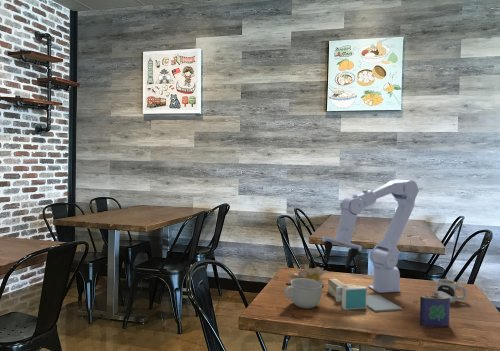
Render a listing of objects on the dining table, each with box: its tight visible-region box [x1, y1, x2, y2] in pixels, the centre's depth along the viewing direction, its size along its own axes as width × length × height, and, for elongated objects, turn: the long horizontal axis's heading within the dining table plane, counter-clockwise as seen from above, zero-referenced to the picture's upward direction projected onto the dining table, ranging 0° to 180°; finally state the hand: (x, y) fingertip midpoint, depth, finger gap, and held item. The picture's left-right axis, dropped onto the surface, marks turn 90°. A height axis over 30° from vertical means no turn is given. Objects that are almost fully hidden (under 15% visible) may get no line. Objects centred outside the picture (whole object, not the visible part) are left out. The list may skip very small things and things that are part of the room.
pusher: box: [327, 278, 353, 303], centre depth 156 cm, size 6×11×5 cm, turn 14°
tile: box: [341, 285, 368, 311], centre depth 144 cm, size 8×2×7 cm, turn 104°
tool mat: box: [366, 294, 403, 313], centre depth 149 cm, size 10×15×1 cm, turn 14°
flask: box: [419, 290, 451, 329], centre depth 129 cm, size 9×3×11 cm, turn 95°
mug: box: [435, 278, 468, 304], centre depth 154 cm, size 10×7×7 cm
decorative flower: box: [287, 266, 328, 285], centre depth 170 cm, size 15×11×10 cm
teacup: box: [284, 278, 323, 309], centre depth 144 cm, size 14×11×8 cm
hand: (336, 265), depth 156 cm, fingers open, 7 cm apart
